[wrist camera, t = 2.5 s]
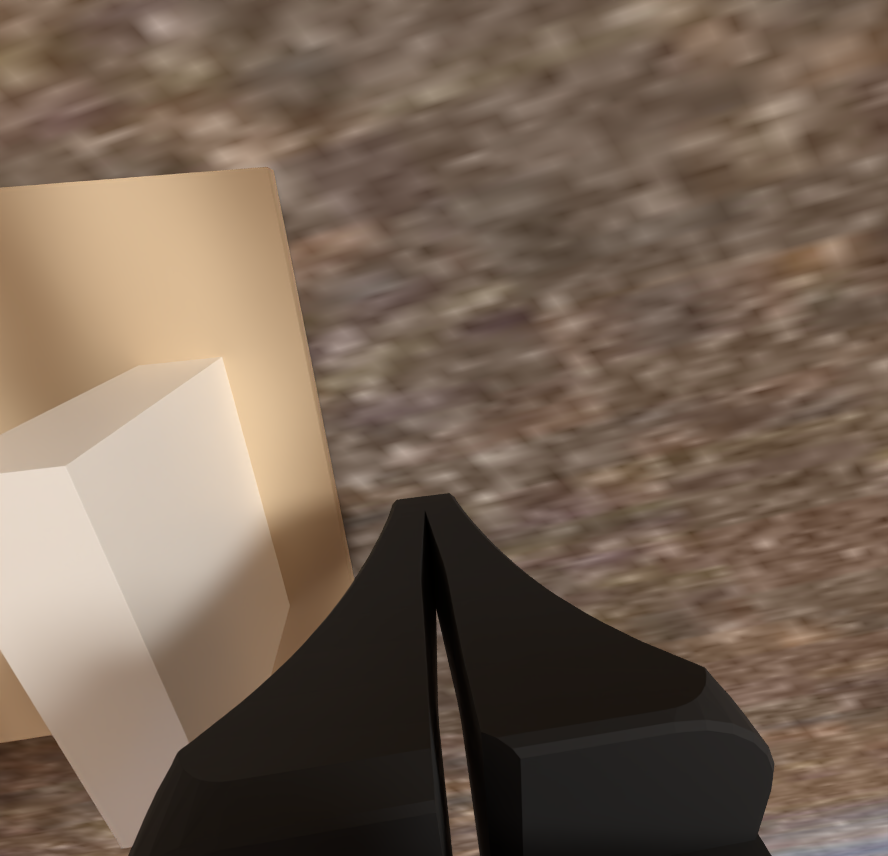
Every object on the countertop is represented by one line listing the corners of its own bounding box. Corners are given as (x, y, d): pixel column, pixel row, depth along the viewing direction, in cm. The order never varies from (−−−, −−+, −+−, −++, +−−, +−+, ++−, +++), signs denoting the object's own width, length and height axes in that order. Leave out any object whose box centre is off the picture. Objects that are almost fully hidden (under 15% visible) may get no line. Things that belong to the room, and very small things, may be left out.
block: (223, 615, 14) (118, 848, 9) (136, 365, 11) (-105, 485, 6) (289, 605, 15) (228, 830, 9) (221, 356, 11) (65, 466, 6)
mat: (-38, 733, 16) (-53, 751, 15) (-406, 223, 10) (-454, 222, 9) (372, 671, 17) (371, 685, 16) (273, 170, 11) (267, 167, 10)
